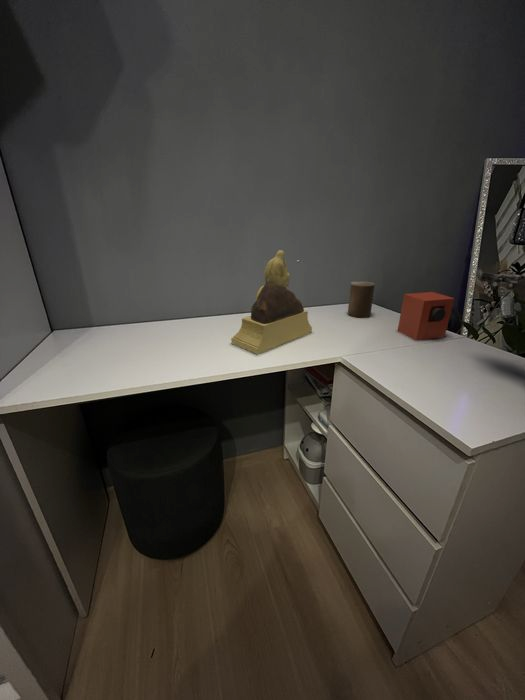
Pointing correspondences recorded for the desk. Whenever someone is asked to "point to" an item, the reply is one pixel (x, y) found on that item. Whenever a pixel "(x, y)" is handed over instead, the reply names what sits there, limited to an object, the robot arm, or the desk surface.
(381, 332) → the desk surface
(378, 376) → the desk surface
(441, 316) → the button
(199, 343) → the desk surface
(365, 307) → the pillar candle
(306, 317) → the yellow and brown statue
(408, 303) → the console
